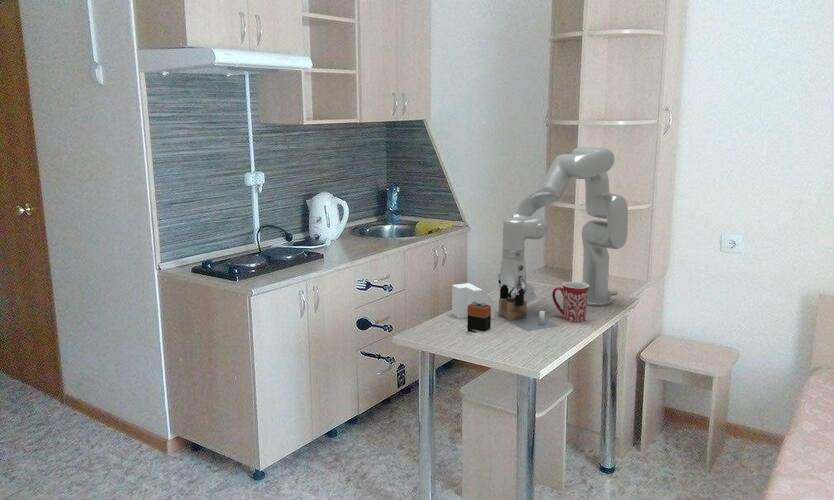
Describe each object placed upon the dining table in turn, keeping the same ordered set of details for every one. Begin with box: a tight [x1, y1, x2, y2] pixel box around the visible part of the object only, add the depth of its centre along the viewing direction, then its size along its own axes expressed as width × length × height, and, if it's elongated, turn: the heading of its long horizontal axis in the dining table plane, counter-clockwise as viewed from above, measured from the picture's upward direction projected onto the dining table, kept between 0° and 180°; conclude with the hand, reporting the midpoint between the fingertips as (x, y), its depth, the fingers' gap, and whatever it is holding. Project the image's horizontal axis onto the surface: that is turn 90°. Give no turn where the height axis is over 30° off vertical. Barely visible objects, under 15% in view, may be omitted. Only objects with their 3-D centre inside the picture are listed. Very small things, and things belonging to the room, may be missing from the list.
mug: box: [552, 281, 589, 323], centre depth 235 cm, size 13×9×14 cm
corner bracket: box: [451, 282, 495, 320], centre depth 239 cm, size 11×11×12 cm
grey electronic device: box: [508, 283, 542, 309], centre depth 253 cm, size 17×5×10 cm, turn 143°
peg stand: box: [495, 310, 560, 332], centre depth 233 cm, size 13×20×6 cm, turn 25°
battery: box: [466, 302, 492, 334], centre depth 225 cm, size 4×7×10 cm, turn 56°
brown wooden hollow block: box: [498, 297, 528, 321], centre depth 238 cm, size 7×7×6 cm
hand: (511, 302), depth 237 cm, fingers open, 9 cm apart
